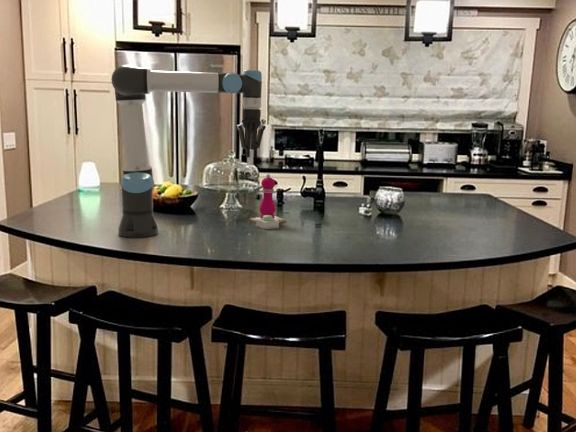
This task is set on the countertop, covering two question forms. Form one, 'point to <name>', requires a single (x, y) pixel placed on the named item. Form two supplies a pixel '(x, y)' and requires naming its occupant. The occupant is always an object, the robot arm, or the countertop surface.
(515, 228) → the countertop surface
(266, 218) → the button
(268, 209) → the pepper mill
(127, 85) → the robot arm
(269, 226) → the button base
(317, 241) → the countertop surface
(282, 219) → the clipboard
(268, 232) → the countertop surface
